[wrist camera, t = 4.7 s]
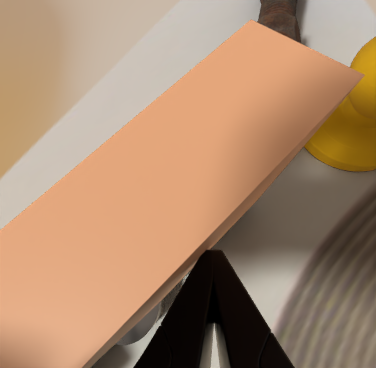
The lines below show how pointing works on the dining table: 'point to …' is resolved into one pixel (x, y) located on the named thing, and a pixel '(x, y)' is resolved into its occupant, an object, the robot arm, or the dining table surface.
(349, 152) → the doorknob
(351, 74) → the peach block with bar
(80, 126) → the dining table surface
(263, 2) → the bolt
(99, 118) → the dining table surface
